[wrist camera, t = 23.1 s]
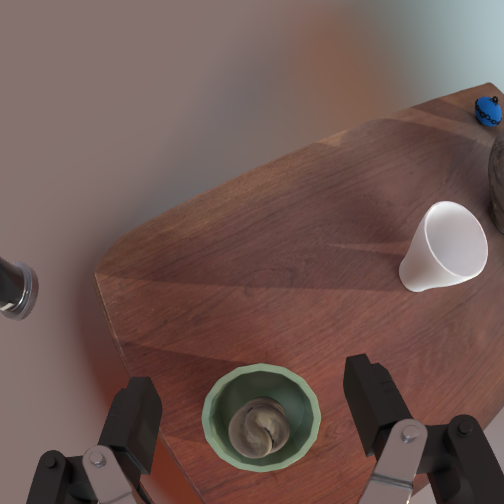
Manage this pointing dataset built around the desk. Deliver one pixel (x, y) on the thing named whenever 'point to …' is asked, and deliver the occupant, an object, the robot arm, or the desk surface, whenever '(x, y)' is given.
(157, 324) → the desk surface
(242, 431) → the light bulb
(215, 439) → the pot
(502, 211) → the clay pot
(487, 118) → the ornament
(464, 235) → the cup
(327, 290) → the desk surface
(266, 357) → the desk surface
